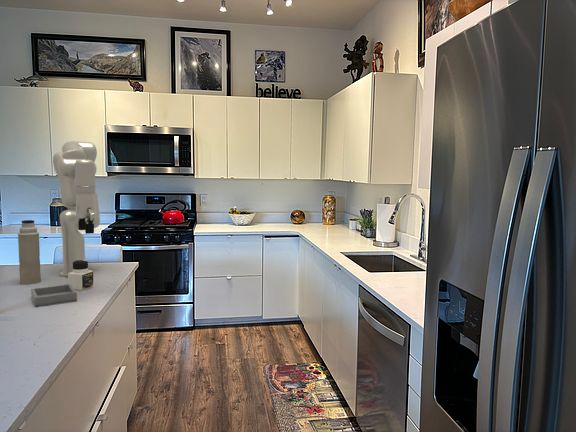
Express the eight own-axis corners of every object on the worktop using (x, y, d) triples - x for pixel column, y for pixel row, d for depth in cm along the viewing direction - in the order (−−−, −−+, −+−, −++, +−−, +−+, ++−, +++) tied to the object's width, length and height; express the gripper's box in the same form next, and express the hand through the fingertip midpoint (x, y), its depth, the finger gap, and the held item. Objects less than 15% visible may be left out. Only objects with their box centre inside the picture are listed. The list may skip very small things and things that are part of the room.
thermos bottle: (37, 278, 194) (35, 218, 191) (43, 282, 189) (41, 220, 186) (17, 281, 188) (15, 220, 185) (23, 285, 183) (20, 221, 180)
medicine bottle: (82, 290, 178) (82, 263, 176) (68, 289, 179) (67, 261, 178) (93, 286, 185) (93, 259, 183) (79, 284, 186) (78, 258, 185)
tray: (31, 297, 167) (31, 288, 166) (70, 292, 175) (70, 284, 175) (35, 307, 155) (35, 298, 155) (76, 301, 164) (76, 292, 163)
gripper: (69, 189, 175) (70, 229, 177) (81, 192, 162) (82, 235, 164) (88, 188, 180) (89, 228, 182) (101, 191, 167) (102, 234, 169)
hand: (86, 231), depth 173 cm, fingers open, 9 cm apart
